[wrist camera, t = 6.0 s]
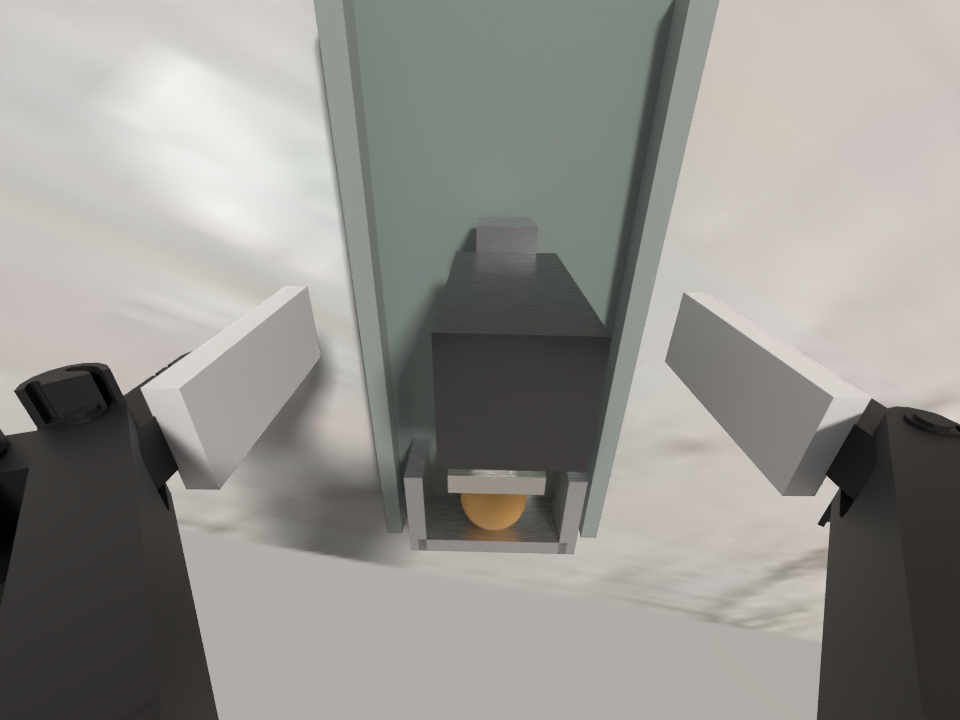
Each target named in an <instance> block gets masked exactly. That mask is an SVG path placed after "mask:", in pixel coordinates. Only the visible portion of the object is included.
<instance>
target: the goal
mask: <svg viewBox="0 0 960 720" xmlns="http://www.w3.org/2000/svg"><path fill="white" fill-rule="evenodd" d="M587 484H588V481H587V478H586V475H585V472H555V475H554V482H553V489H552V496H551V499H534V498H527V501H526V506H525V509H524V511H523V513H522V515H521V516H520V518H519V519H518V520H517V521H516V522H515V523H514V524H512V525H511V526H509V527H507V528H505V529H502V530H486V529H483V528H481V527H479V526H477V525H476V524H474V523H473V522H472V521H471V520H470V519H469V518H468V516H467V515H466V513H465V511H464V509H463V506H462V502H461V497H453V496H433V481H432V463H431V444H430V438H414V440H413V444H412V448H411V451H410V455H409V459H408V463H407V467H406V471H405V475H404V485H405V495H406V505H407V515H408V525H409V535H410V545H411V550H430V551H468V552H507V553H546V554H574V550H575V545H576V540H577V535H578V529H579V524H580V519H581V514H582V509H583V504H584V499H585V494H586V489H587Z"/></svg>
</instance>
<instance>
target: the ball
mask: <svg viewBox="0 0 960 720" xmlns="http://www.w3.org/2000/svg"><path fill="white" fill-rule="evenodd" d="M526 501H527V495H523V494H483V493H461V502H462V506H463V509H464V511H465V513H466V515H467V516H468V518H469V519H470V520H471V521H472V522H473V523H474V524H476V525H477V526H479V527H481V528H483V529H486V530H502V529H505V528H507V527H509V526H511V525H512V524H514V523H515V522H516V521H517V520H518V519H519V518H520V516H521V515H522V513H523V511H524V509H525V506H526Z"/></svg>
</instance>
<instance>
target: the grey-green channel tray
mask: <svg viewBox="0 0 960 720" xmlns="http://www.w3.org/2000/svg"><path fill="white" fill-rule="evenodd" d="M718 4H719V0H314V6H315V13H316V20H317V27H318V35H319V42H320V49H321V56H322V64H323V71H324V78H325V85H326V92H327V100H328V107H329V114H330V121H331V129H332V136H333V143H334V150H335V157H336V165H337V172H338V179H339V186H340V194H341V201H342V208H343V215H344V222H345V230H346V237H347V244H348V251H349V259H350V266H351V273H352V280H353V287H354V295H355V302H356V309H357V316H358V324H359V331H360V338H361V345H362V352H363V360H364V367H365V374H366V381H367V389H368V396H369V403H370V410H371V417H372V425H373V432H374V439H375V446H376V454H377V461H378V468H379V475H380V482H381V490H382V497H383V504H384V511H385V519H386V526H387V532H390V533H402V532H403V527H404V523H405V518H406V516H408V515H407V505H406V495H405V485H404V475H405V471H406V467H407V463H408V459H409V455H410V451H411V448H412V444H413V440H414V438H430V444H431V463H432V481H433V496H453V497H461V493H448V469H437V448H436V426H435V404H434V382H433V360H432V338H431V332H432V329H433V325H434V322H435V319H436V316H437V313H438V309H439V306H440V303H441V300H442V296H443V293H444V290H445V287H446V283H447V280H448V277H449V274H450V270H451V267H452V264H453V261H454V257H455V254H456V251H467V252H476V234H477V219H478V217H528V218H533V220H534V221H535V223H536V224H537V226H538V238H537V250H536V253H556V254H557V255H558V257H559V258H560V260H561V261H562V263H563V264H564V266H565V267H566V269H567V270H568V272H569V273H570V275H571V276H572V278H573V279H574V281H575V282H576V284H577V285H578V287H579V288H580V290H581V291H582V293H583V294H584V296H585V297H586V299H587V300H588V302H589V303H590V305H591V306H592V308H593V309H594V311H595V312H596V314H597V315H598V317H599V318H600V320H601V321H602V323H603V324H604V326H605V327H606V329H607V330H608V332H609V333H610V335H611V336H612V339H611V344H610V349H609V355H608V360H607V365H606V370H605V376H604V381H603V386H602V391H601V397H600V402H599V407H598V412H597V418H596V423H595V428H594V433H593V439H592V444H591V449H590V454H589V460H588V465H587V470H586V472H585V475H586V478H587V481H588V484H587V489H586V494H585V499H584V504H583V509H582V514H581V519H580V524H579V531H580V536H581V537H587V538H596V535H597V531H598V526H599V522H600V518H601V513H602V509H603V505H604V500H605V496H606V491H607V487H608V483H609V478H610V474H611V470H612V465H613V461H614V457H615V452H616V448H617V444H618V439H619V435H620V431H621V426H622V422H623V417H624V413H625V409H626V404H627V400H628V396H629V391H630V387H631V383H632V378H633V374H634V370H635V365H636V361H637V356H638V352H639V348H640V343H641V339H642V335H643V330H644V326H645V322H646V317H647V313H648V309H649V304H650V300H651V296H652V291H653V287H654V282H655V278H656V274H657V269H658V265H659V261H660V256H661V252H662V248H663V243H664V239H665V235H666V230H667V226H668V222H669V217H670V213H671V208H672V204H673V200H674V195H675V191H676V187H677V182H678V178H679V174H680V169H681V165H682V161H683V156H684V152H685V147H686V143H687V139H688V134H689V130H690V126H691V121H692V117H693V113H694V108H695V104H696V100H697V95H698V91H699V87H700V82H701V78H702V73H703V69H704V65H705V60H706V56H707V52H708V47H709V43H710V39H711V34H712V30H713V26H714V21H715V17H716V13H717V8H718ZM545 474H546V484H545V491H544V495H527V498H534V499H551V496H552V489H553V482H554V475H555V471H545Z"/></svg>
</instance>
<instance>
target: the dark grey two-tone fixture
mask: <svg viewBox="0 0 960 720" xmlns="http://www.w3.org/2000/svg"><path fill="white" fill-rule="evenodd" d="M537 238H538V226H537V224H536V223H535V221H534V220H533V218H528V217H478V219H477V234H476V252H467V251H456V254H455V257H454V261H453V264H452V267H451V270H450V274H449V277H448V280H447V283H446V287H445V290H444V293H443V296H442V300H441V303H440V306H439V309H438V313H437V316H436V319H435V322H434V325H433V329H432V332H431V338H432V360H433V382H434V404H435V426H436V448H437V469H448V493H483V494H523V495H544V491H545V484H546V474H545V471H555V472H586V470H587V465H588V460H589V454H590V449H591V444H592V439H593V433H594V428H595V423H596V418H597V412H598V407H599V402H600V397H601V391H602V386H603V381H604V376H605V370H606V365H607V360H608V355H609V349H610V344H611V339H612V336H611V335H610V333H609V332H608V330H607V329H606V327H605V326H604V324H603V323H602V321H601V320H600V318H599V317H598V315H597V314H596V312H595V311H594V309H593V308H592V306H591V305H590V303H589V302H588V300H587V299H586V297H585V296H584V294H583V293H582V291H581V290H580V288H579V287H578V285H577V284H576V282H575V281H574V279H573V278H572V276H571V275H570V273H569V272H568V270H567V269H566V267H565V266H564V264H563V263H562V261H561V260H560V258H559V257H558V255H557V254H556V253H536V250H537Z"/></svg>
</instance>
